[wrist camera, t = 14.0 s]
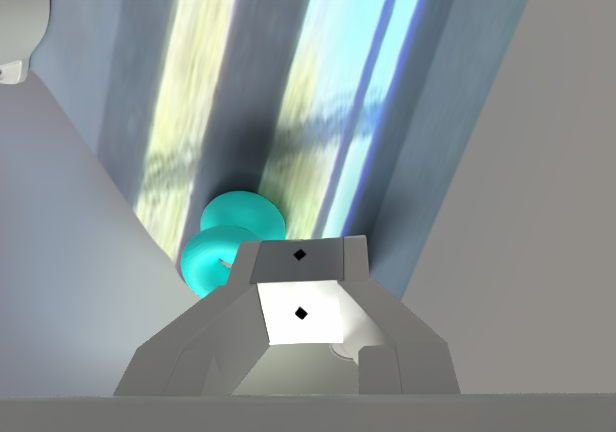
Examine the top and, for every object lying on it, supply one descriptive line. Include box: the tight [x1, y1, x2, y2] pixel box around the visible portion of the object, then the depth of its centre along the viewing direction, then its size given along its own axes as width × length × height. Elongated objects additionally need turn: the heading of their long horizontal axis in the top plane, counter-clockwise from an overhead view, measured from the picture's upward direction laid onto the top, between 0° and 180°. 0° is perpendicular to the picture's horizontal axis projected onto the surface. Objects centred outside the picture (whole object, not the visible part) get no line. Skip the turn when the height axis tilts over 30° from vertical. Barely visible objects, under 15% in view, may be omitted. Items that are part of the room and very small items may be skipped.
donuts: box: [181, 191, 286, 298], centre depth 46 cm, size 10×10×10 cm
